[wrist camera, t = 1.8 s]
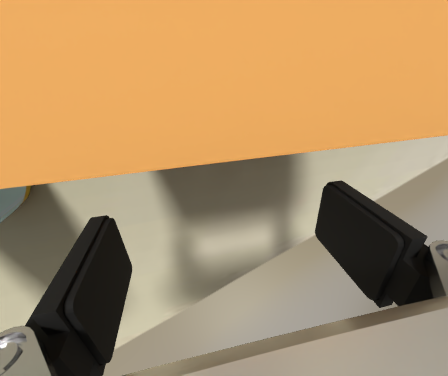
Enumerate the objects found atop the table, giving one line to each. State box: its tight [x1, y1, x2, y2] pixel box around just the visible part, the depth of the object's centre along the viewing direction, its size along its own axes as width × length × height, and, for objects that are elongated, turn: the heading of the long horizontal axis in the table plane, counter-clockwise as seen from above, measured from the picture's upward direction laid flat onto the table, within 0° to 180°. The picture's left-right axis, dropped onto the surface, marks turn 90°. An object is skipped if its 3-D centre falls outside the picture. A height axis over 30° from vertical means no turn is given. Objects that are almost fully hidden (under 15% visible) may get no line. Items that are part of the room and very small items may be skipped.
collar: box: [0, 0, 448, 189], centre depth 8 cm, size 11×4×9 cm, turn 94°
